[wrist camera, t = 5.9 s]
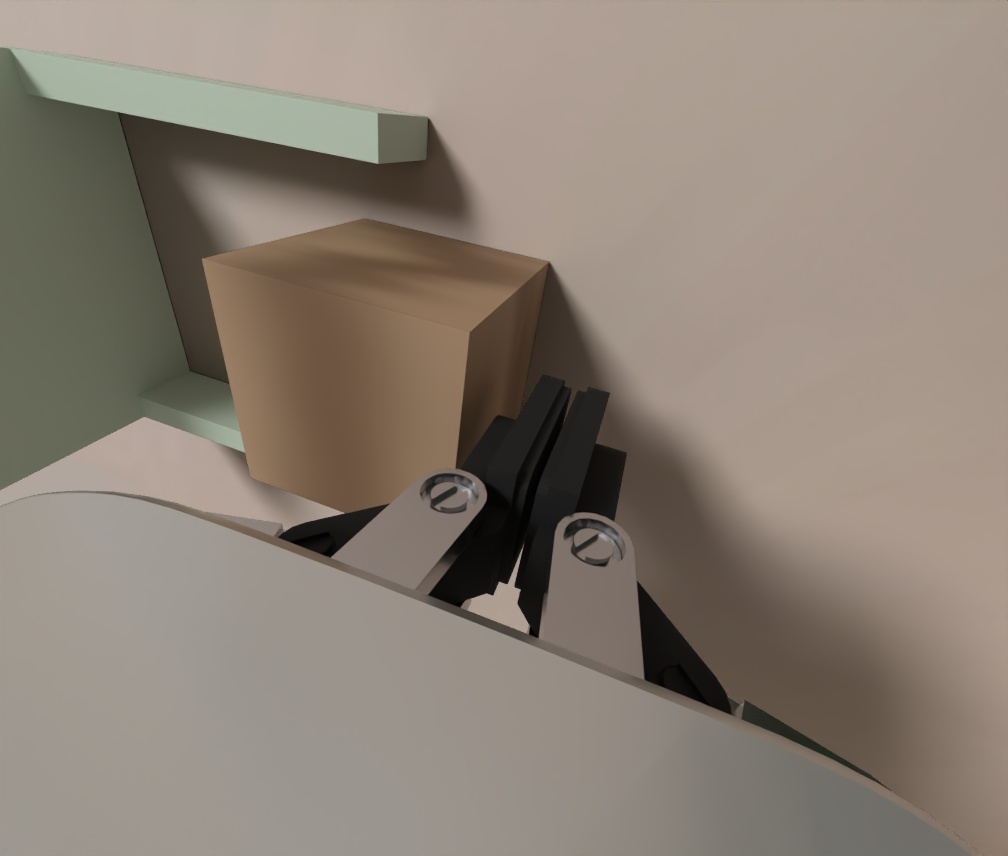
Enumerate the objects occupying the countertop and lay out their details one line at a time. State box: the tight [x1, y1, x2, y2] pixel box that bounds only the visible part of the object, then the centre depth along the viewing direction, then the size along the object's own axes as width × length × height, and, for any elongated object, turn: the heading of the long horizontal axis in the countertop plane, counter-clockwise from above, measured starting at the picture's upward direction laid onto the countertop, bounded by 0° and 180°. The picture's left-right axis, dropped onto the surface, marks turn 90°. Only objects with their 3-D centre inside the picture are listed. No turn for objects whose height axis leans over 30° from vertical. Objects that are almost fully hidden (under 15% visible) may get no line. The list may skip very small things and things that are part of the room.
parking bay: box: [0, 46, 428, 490], centre depth 14 cm, size 13×12×8 cm
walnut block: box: [202, 218, 549, 513], centre depth 13 cm, size 6×6×6 cm
